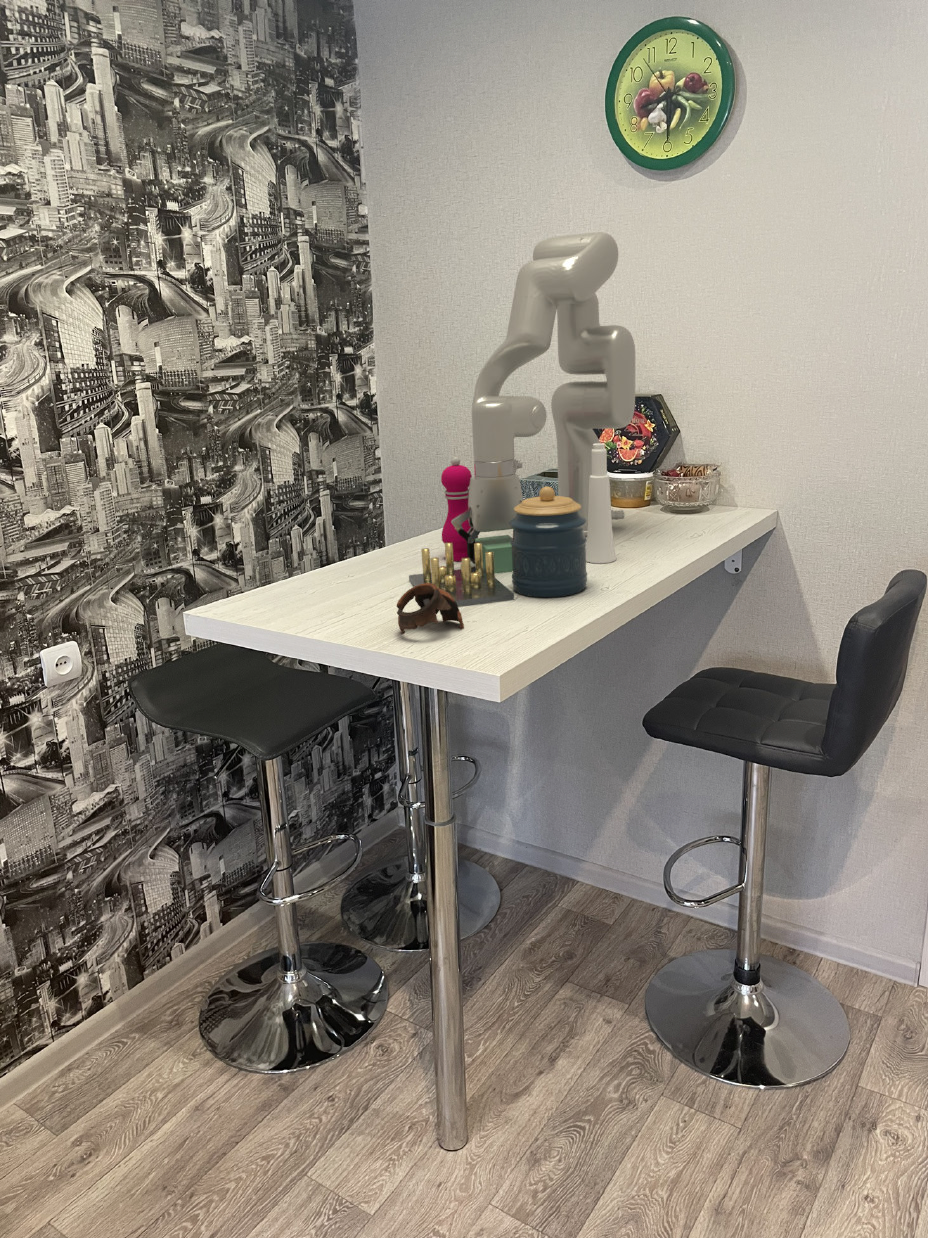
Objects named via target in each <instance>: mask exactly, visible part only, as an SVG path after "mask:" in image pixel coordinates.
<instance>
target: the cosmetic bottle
mask: <svg viewBox="0 0 928 1238" xmlns="http://www.w3.org/2000/svg"><path fill="white" fill-rule="evenodd" d="M593 447H594V449H592V452H591V453H592V475H591V476H590V479H589V505H588V531H587V536H586V539H587V541H586V563H589V562H590V564H608V563H612V562H615V561H616V560H617V555H616V549H615V543H614V536H613V535H614V534H613V520H612V518H611V510H612V505H611V504H612V503H611V502H612V501H611V500H612V499H611V484H610V483H611V482H610V475H609V474H608V468H607V467H608V464H607V463H608V461H607V459H608V458H607V453H608V452H607V448H606V443H603V442H600V443H595V444H593Z"/></svg>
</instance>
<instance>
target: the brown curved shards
mask: <svg viewBox="0 0 928 1238" xmlns="http://www.w3.org/2000/svg"><path fill="white" fill-rule="evenodd" d="M413 599H414V601H415V603H417V605H418V607H419V608H420V609H417V610H415V611H411V612H410V611H409V612H406V611H404V609H405V607H406V606H407V605H408V604H409V602H410V601H412V600H413ZM396 608H397V611H396V614H397V615H398V616H397V623H398V628H399V630H400V633H401V634H405V630H416V629H417V628H421V627H424V626H426V625H428V624H430V623H435V624H439V620H438V618H437V614H438V613H440V615H441V619H442V622H451V621H454V622H458V623H459V628H460V629H461V630H464V629H465V624H464V622H463V616H462V613H461V611H460V609H459V606H458V605H457V603H456V602H455V601H454V598H453V597H452V596H451V595H450V594H449V593H448V592H446V591H444V590H442V589H438V588H437V586H436V585H434V584H432V583H423V584H420V585H417V586H413V587H411V588H409V589H408V590H407V591H405V592H404V593H403V594H402V595H401V597H400V598H399V599H398V601H397V603H396Z"/></svg>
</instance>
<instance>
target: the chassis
mask: <svg viewBox="0 0 928 1238" xmlns="http://www.w3.org/2000/svg"><path fill="white" fill-rule="evenodd" d="M474 550H475V564H474V565H475V567H472V564H471V560H470V558H462V561H461V564H460V569H455V561H454V559H453V543H451V542H449V543H445V544H444V555H446V558H445V565H440V559H439V557H434V556H433V557H431V553H430V552H431V551H430V548H429V547H428V548H426V547H425V548H421V561H422V562H421V565H422V573H417V574H409V575H408V581H409V580H410V581H411V582H410V581H409V582H410V583H411V585H412V584H413V585H414V586H417V585H420V584H423V583H432V584H434V585H436V586H437V588H438V589H442V590H444V591H446V592H448V593H449V594H450V595H451V596H452V597H453V598H454V601H455V602H456V603H457V605H458V607H464V606H465V607H466V606H472V605H473V606H474V605H482V604H489V603H496V602H497V603H498V602H506V601H513V600H515V593H514V592H513V591H511V590H510V589H509V588H508V587H506V586H505V585H504V584H503V583H502V582H501V581H500V580H499V579H497V578H496V576H495V571H494V552H492V551H488V552H485V554H486V569H484V568H483V553H482V543H480V542H478V543H474ZM413 585H412V586H413ZM414 586H413V587H414Z"/></svg>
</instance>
